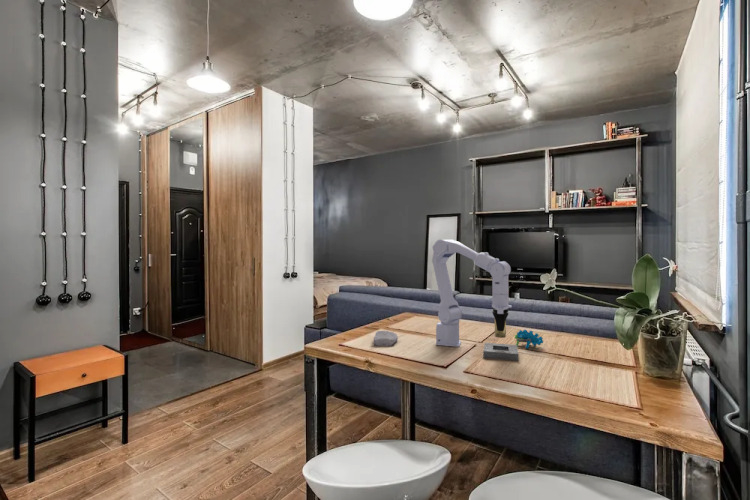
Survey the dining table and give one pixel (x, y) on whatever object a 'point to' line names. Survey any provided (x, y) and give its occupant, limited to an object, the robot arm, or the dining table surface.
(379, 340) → the stone block
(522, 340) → the blue toy dinosaur
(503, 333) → the brass sleeve
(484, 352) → the block
